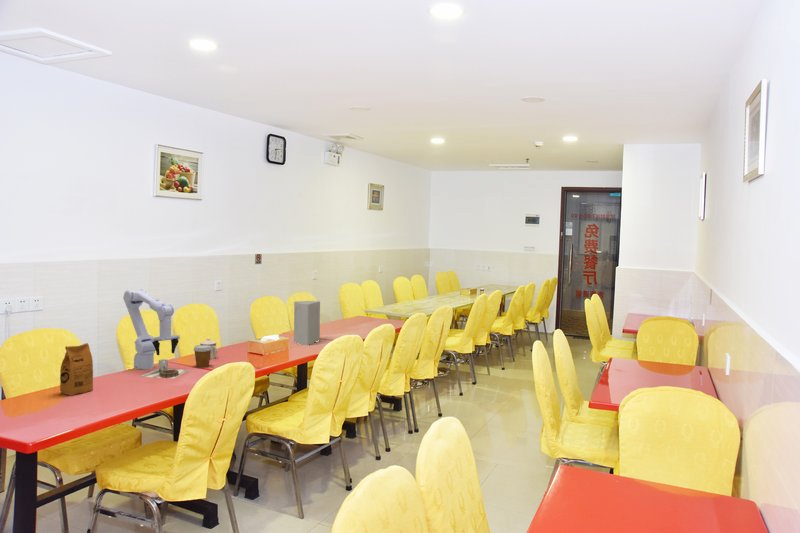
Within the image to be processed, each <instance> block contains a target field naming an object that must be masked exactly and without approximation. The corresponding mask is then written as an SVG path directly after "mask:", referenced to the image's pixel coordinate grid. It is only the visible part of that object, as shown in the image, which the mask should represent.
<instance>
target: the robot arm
mask: <svg viewBox="0 0 800 533" xmlns="http://www.w3.org/2000/svg"><path fill="white" fill-rule="evenodd" d="M122 299H123V302H124V304H125V306H126V309H127V311H128V315H129V316H130V320H131V322H132V325H133V328H134V330H135V333H136V337H137V338H136V340H135V341H134V346H135V351H136V352H137V353H135V354H134V356H133V369H134V370H135V369H136V370H137V369H138V370H152V369H154V367H155V362H154V361H155V355H154V354H155V353H156V355H157V356H160V347H161V346H160V345H161V344H160V342H162V341H163V342H164V341H170V343H171V350H170V351H171V354H175V351H176V348H177V345H178V343H179V340H181V335H179V334H175V335H172V316H173V314H174V310H175V309H174V307H173V306H172V305H171V304H166V303H165V302H162V301H161V300H160V299H159V298H155V299H154V298H152V297H151V296H150V295H148V294H147V291H146V290H144V289H141V288H140V289H132V290H128V289H127V290H125V292H124V294H123V297H122ZM143 303H145V304H147V305H148V306H149V309H151V310H153V311H154V312H155V313H156V314H157V318H158V321H159V336H156V337H154V336H152V335H151V334H149V332H148V330H147V327H146V324H145V322H144V319H143V316H142V314H141V311H140V307H141V306H142V304H143Z"/></svg>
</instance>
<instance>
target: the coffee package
mask: <svg viewBox="0 0 800 533" xmlns="http://www.w3.org/2000/svg"><path fill="white" fill-rule="evenodd" d="M64 349H65V351H66V352H65V354H64V358H63V359H62V363H61V364H60V370H59V373H60V375H59V376H60V377H59V381H60V382H59V391H60V393H61V394H64V395H66V396H75V395H77V394H85V393H89V392H91V391H93V390H94V362H93V361H94V360H93V356H92V352H91V349H90V344H89V343H88V342H86V343H83V344H81V345H69V346H68V345H67V346H65V347H64Z"/></svg>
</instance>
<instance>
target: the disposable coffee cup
mask: <svg viewBox="0 0 800 533" xmlns="http://www.w3.org/2000/svg"><path fill="white" fill-rule="evenodd" d="M211 349H212V348H211V346H210V345H200V344H199V345H195V346H194V348H193V352H194V358H195V365H196V368H209V366H210V361H211V359H210V354H211Z"/></svg>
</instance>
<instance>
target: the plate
mask: <svg viewBox="0 0 800 533" xmlns="http://www.w3.org/2000/svg"><path fill="white" fill-rule="evenodd" d="M168 370H178V376H176V377H171V378H170V379H176V378H177V377H180V376H181V375H183V374H186V373H188V372H190V371H191V370H190V369H174V368H173V369H171V368H168ZM139 377H140V378H156V379H157V378H159V379H163V378H162V377H160V376H159V368H157V369H154V370H152V371H150V372H147V373H145V374H143V375H140V376H139Z"/></svg>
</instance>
